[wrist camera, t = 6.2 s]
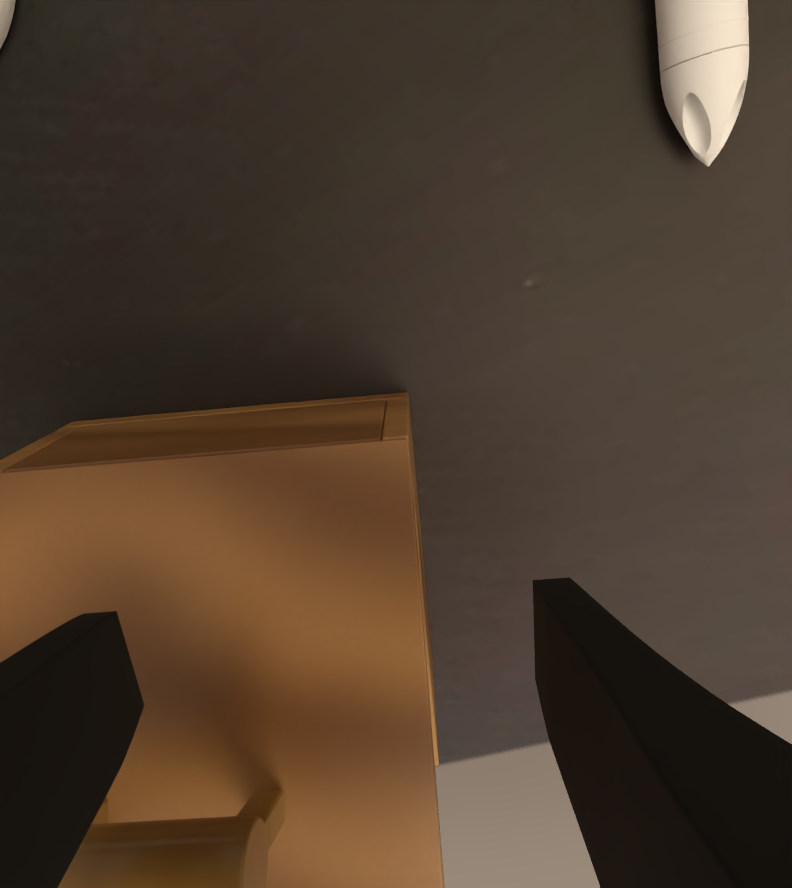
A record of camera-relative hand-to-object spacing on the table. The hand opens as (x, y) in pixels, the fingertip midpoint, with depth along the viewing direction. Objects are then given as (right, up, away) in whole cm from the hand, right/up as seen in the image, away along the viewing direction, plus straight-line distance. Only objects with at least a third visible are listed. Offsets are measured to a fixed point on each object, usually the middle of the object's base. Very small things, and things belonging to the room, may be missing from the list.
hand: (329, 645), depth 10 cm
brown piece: (-4, -3, +4) cm, 6 cm away
